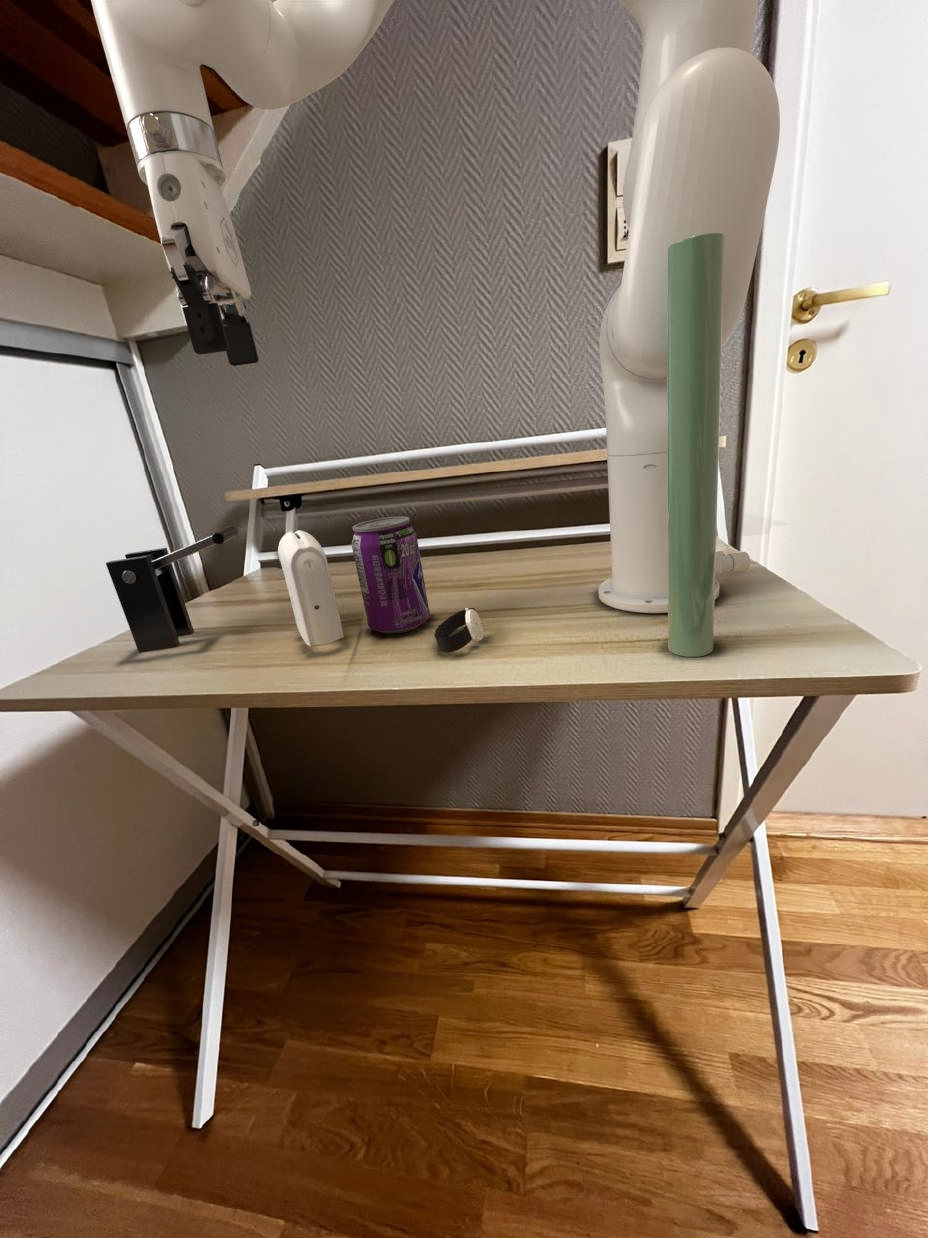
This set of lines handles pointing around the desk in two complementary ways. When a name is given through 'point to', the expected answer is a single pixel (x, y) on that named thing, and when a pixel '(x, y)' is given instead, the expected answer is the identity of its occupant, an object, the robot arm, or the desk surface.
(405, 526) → the beverage can
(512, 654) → the desk surface
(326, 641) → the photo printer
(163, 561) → the lever
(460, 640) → the watch
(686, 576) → the tall green cylinder
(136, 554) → the bracket
